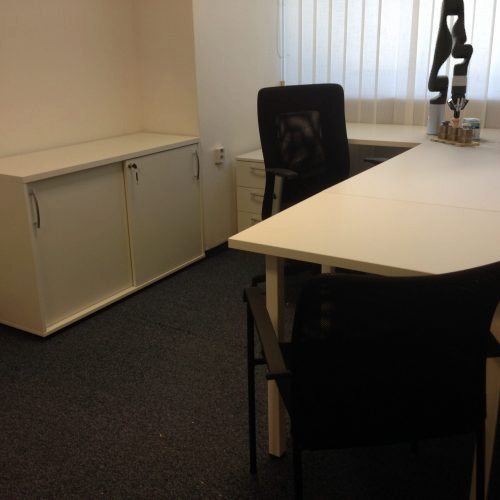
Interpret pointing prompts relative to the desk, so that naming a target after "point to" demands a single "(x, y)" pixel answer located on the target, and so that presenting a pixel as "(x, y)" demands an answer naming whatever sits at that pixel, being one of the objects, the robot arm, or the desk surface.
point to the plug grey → (466, 126)
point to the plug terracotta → (456, 122)
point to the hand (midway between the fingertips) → (456, 118)
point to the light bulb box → (474, 126)
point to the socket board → (455, 136)
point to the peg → (445, 122)
